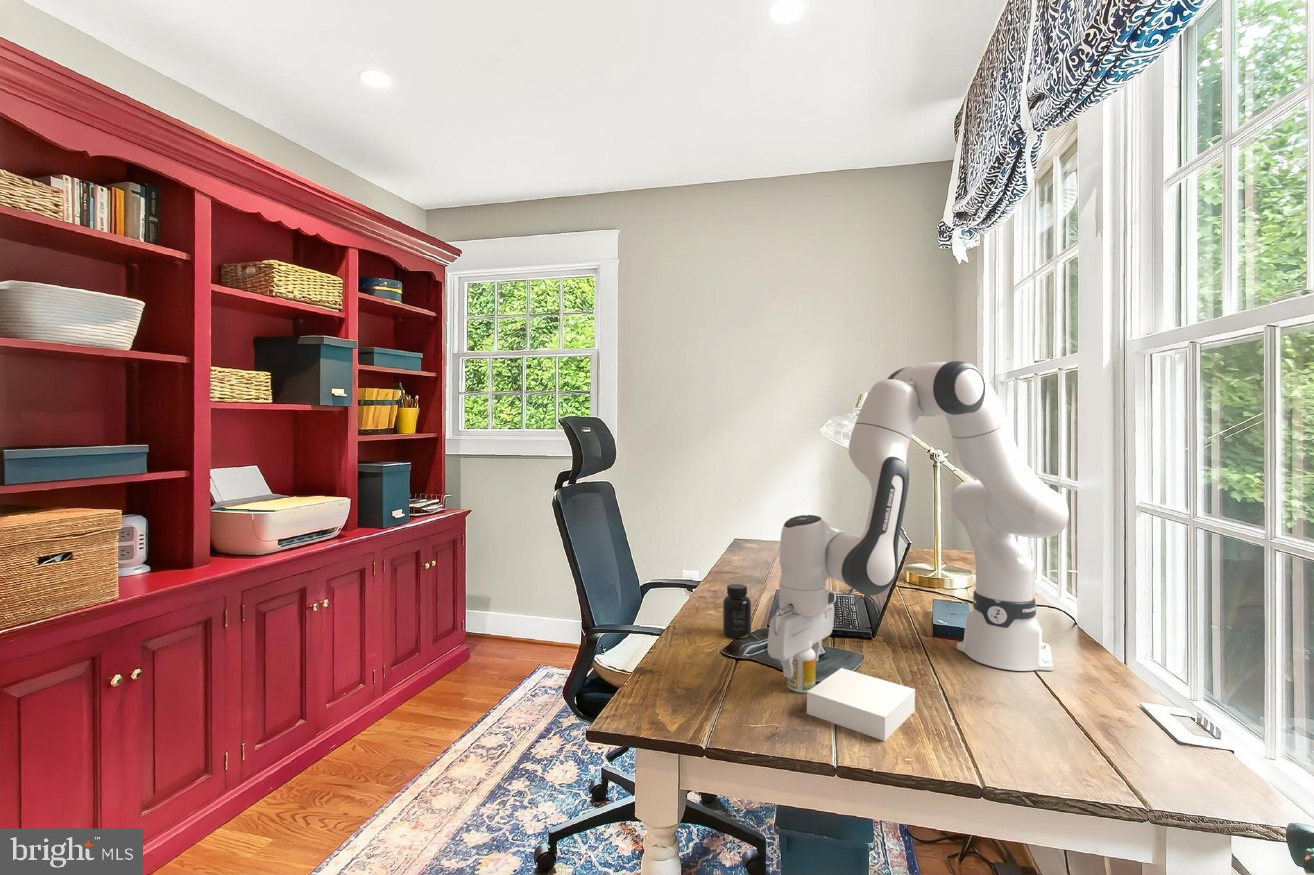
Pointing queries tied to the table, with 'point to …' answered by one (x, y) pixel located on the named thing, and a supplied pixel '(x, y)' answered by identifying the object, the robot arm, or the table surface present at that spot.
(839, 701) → the plinth
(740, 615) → the supplement bottle
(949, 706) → the table surface
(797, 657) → the supplement bottle
